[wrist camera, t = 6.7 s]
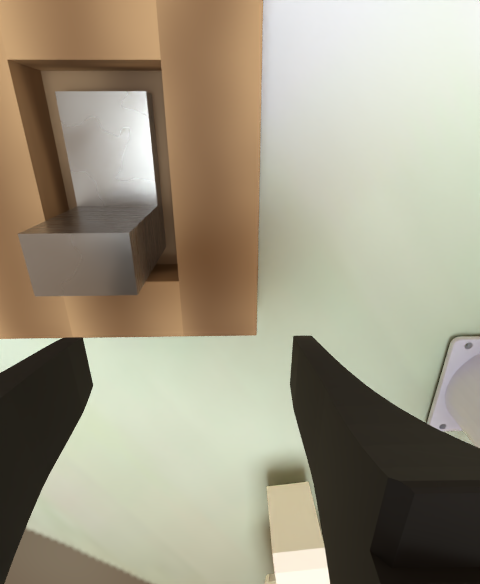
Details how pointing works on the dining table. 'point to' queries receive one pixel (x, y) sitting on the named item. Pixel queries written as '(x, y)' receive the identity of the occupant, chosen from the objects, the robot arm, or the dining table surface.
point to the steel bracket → (102, 200)
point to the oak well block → (170, 149)
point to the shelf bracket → (295, 536)
